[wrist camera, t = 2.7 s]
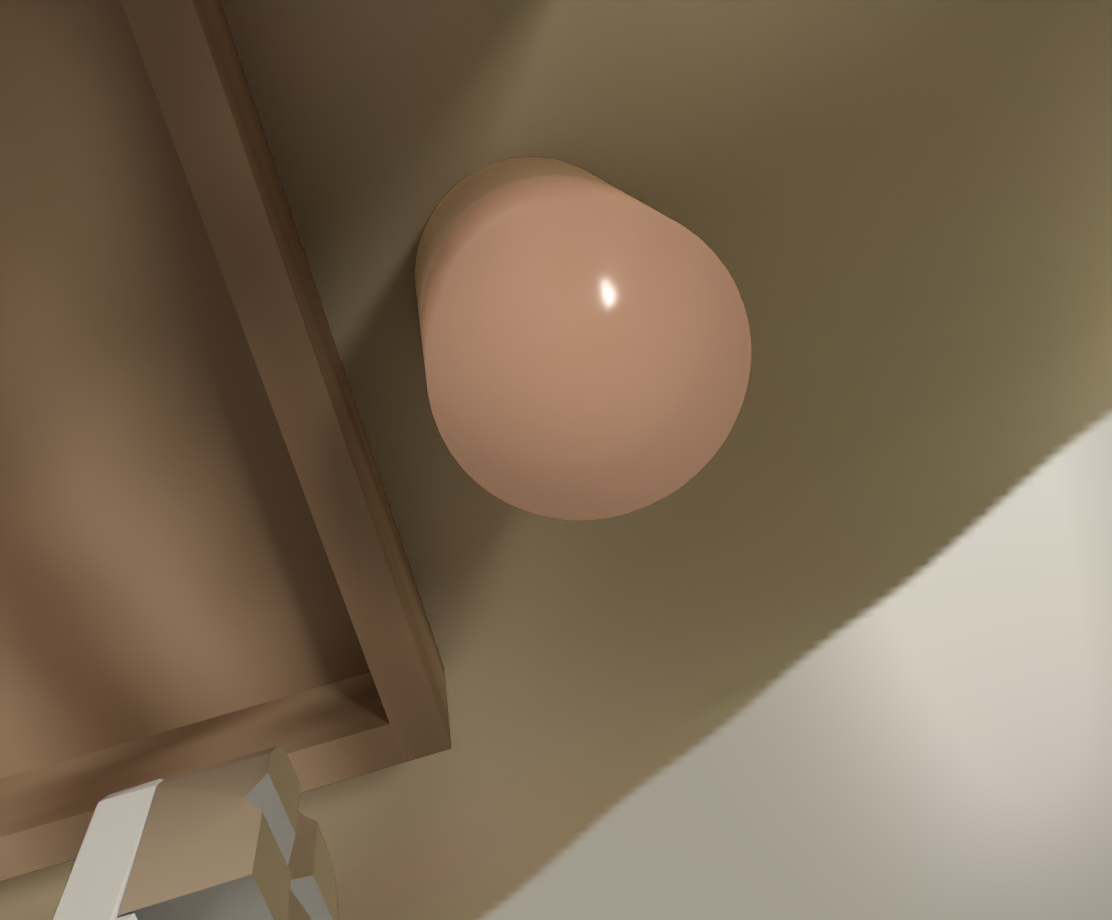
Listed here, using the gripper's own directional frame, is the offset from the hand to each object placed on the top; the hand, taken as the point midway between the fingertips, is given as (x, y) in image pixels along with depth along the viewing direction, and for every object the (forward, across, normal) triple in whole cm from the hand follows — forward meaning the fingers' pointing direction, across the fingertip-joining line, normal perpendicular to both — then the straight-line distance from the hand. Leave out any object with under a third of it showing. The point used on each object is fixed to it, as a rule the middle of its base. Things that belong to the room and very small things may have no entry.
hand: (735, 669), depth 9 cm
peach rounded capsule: (+17, -1, 0) cm, 17 cm away
